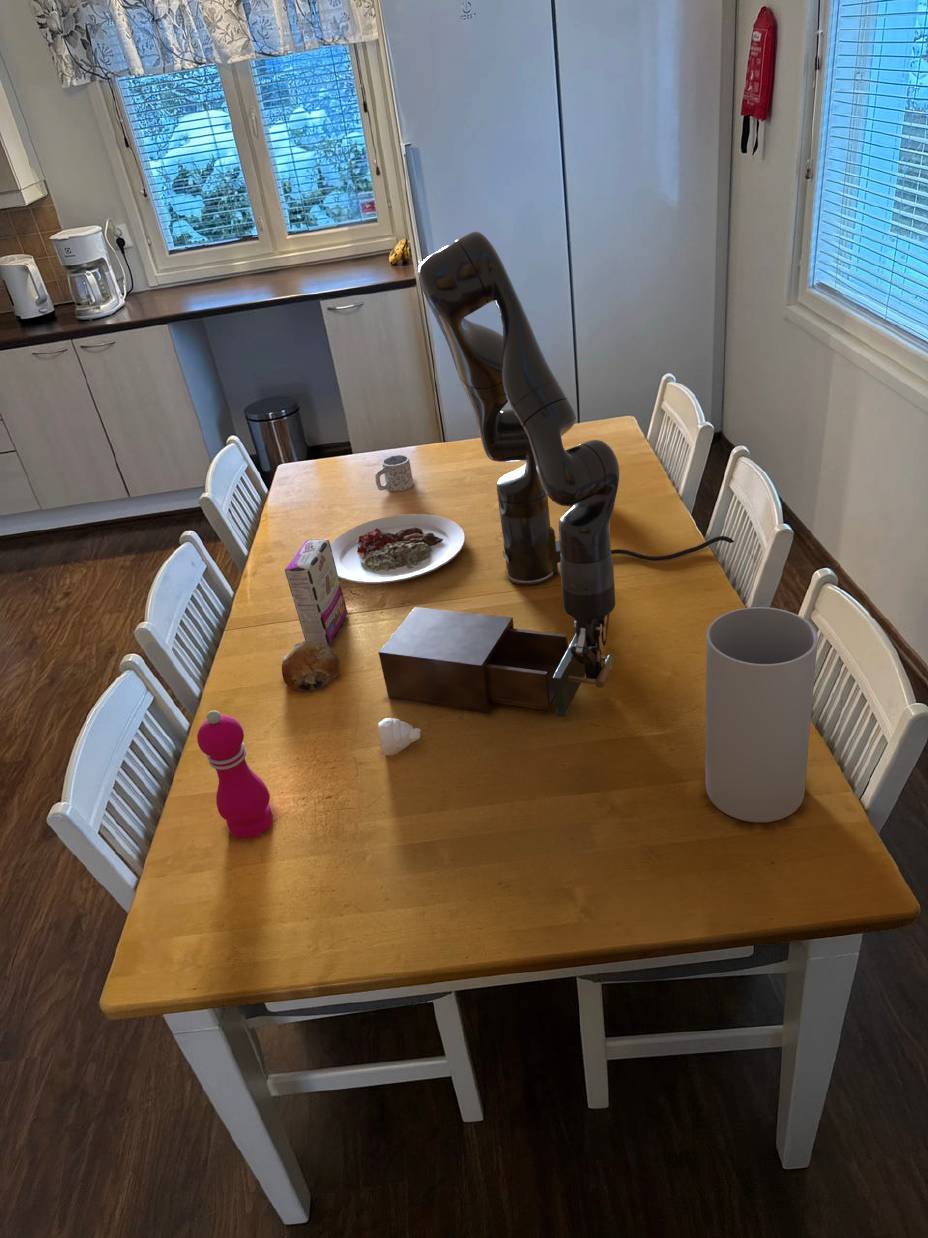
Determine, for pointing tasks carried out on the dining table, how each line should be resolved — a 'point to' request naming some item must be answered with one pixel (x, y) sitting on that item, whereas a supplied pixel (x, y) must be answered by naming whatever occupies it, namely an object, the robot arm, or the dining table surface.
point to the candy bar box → (316, 591)
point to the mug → (395, 473)
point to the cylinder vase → (758, 711)
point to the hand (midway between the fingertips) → (594, 677)
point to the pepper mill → (235, 777)
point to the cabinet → (442, 658)
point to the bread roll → (309, 666)
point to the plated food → (396, 548)
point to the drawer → (538, 671)
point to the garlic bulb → (396, 735)
